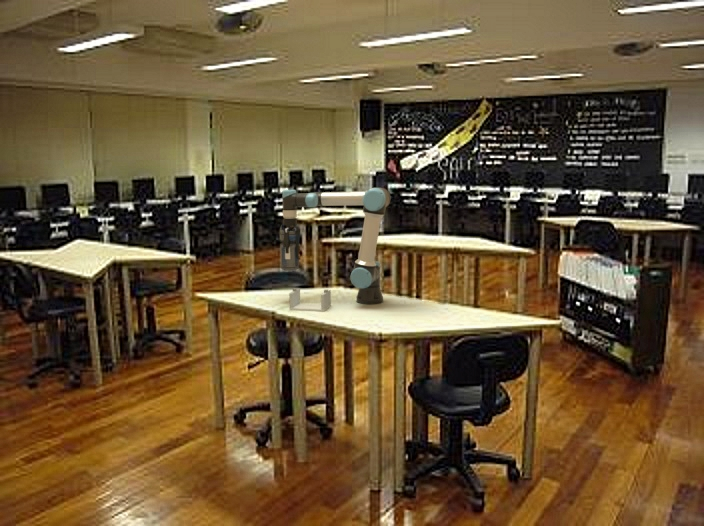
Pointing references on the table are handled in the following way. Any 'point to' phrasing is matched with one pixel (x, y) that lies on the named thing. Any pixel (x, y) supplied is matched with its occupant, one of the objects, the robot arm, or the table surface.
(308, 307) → the holder
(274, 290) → the table surface
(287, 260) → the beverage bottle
